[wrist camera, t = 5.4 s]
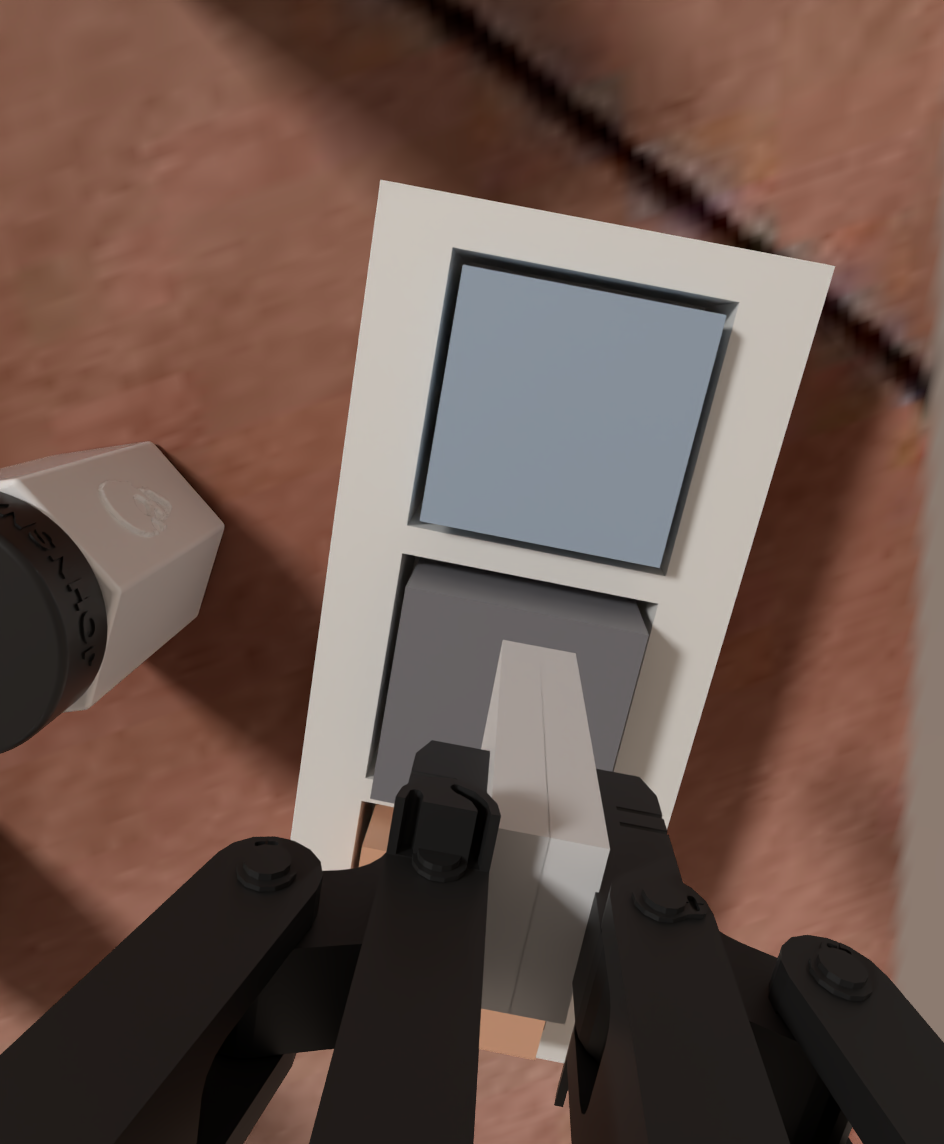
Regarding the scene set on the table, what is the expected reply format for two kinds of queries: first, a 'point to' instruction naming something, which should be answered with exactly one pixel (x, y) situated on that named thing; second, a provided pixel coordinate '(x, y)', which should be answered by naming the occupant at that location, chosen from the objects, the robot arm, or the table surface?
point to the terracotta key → (495, 1027)
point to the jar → (93, 576)
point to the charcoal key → (471, 653)
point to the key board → (398, 539)
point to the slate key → (567, 415)
